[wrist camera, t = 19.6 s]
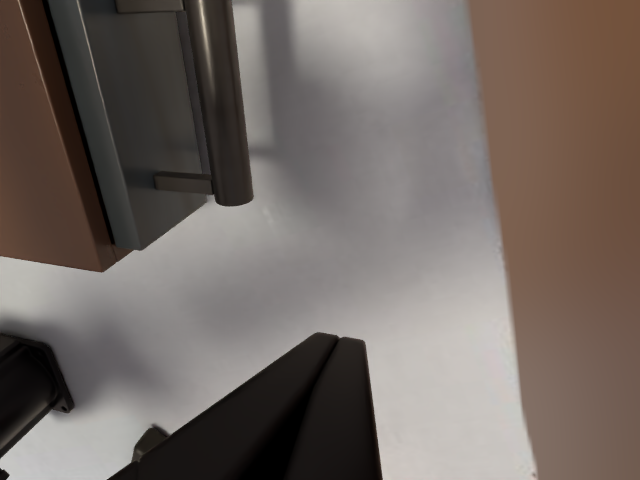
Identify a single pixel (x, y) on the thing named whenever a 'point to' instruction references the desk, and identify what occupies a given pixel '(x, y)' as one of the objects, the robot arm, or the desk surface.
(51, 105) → the cabinet
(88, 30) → the drawer
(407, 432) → the desk surface
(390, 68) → the desk surface
